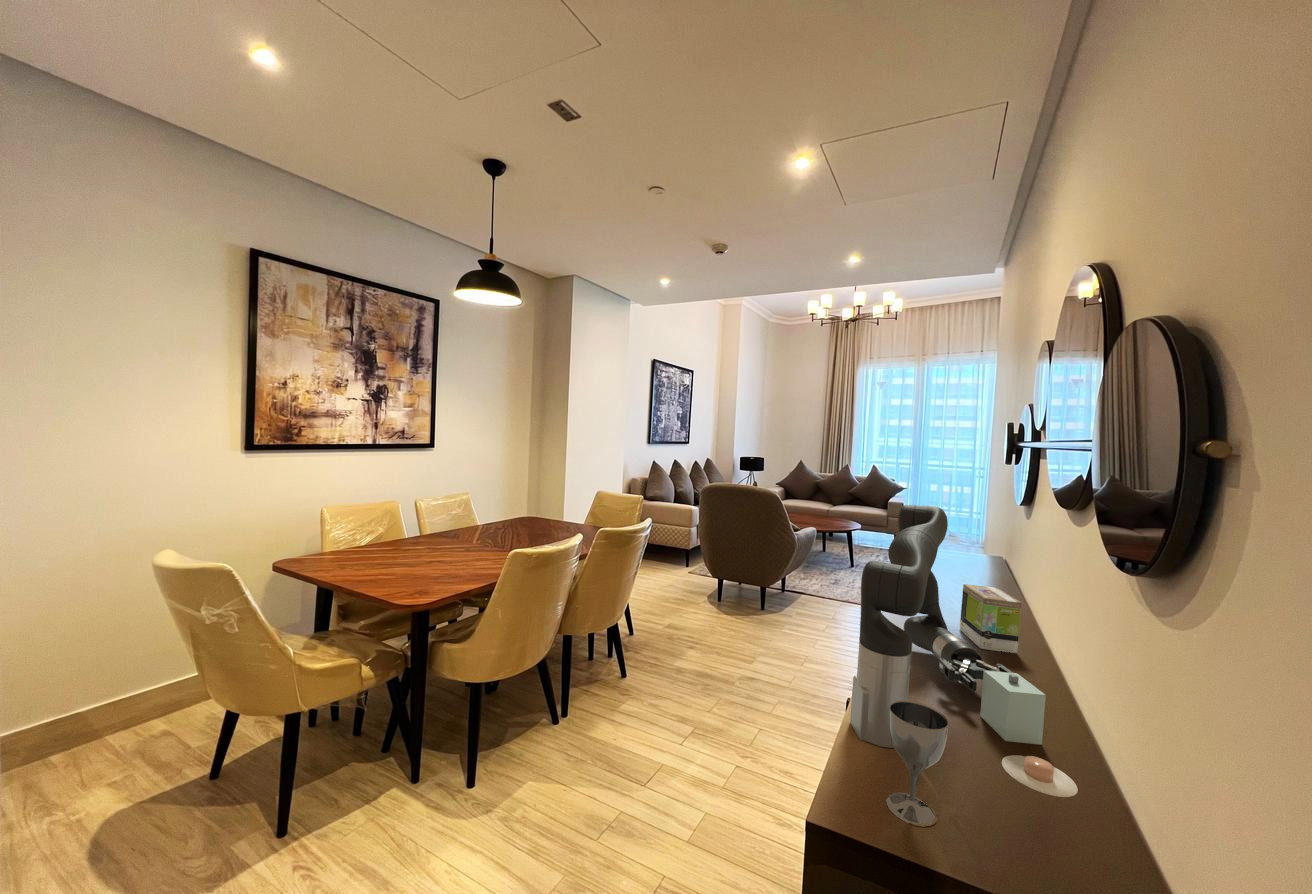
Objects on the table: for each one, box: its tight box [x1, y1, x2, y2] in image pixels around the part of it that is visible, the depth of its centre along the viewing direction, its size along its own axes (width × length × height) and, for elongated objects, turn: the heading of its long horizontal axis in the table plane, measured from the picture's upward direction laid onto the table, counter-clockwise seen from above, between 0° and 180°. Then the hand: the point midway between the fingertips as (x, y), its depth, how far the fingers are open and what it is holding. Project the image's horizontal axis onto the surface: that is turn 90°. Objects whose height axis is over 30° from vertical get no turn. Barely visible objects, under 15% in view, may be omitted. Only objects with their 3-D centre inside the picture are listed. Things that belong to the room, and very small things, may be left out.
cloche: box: [979, 670, 1047, 746], centre depth 100 cm, size 7×9×11 cm
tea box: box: [959, 583, 1022, 654], centre depth 148 cm, size 15×10×15 cm, turn 168°
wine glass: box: [885, 700, 949, 825], centre depth 77 cm, size 8×8×15 cm
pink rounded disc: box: [1024, 755, 1055, 783], centre depth 86 cm, size 4×4×2 cm
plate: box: [1001, 754, 1079, 798], centre depth 86 cm, size 10×10×1 cm
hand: (996, 688), depth 105 cm, fingers open, 8 cm apart
